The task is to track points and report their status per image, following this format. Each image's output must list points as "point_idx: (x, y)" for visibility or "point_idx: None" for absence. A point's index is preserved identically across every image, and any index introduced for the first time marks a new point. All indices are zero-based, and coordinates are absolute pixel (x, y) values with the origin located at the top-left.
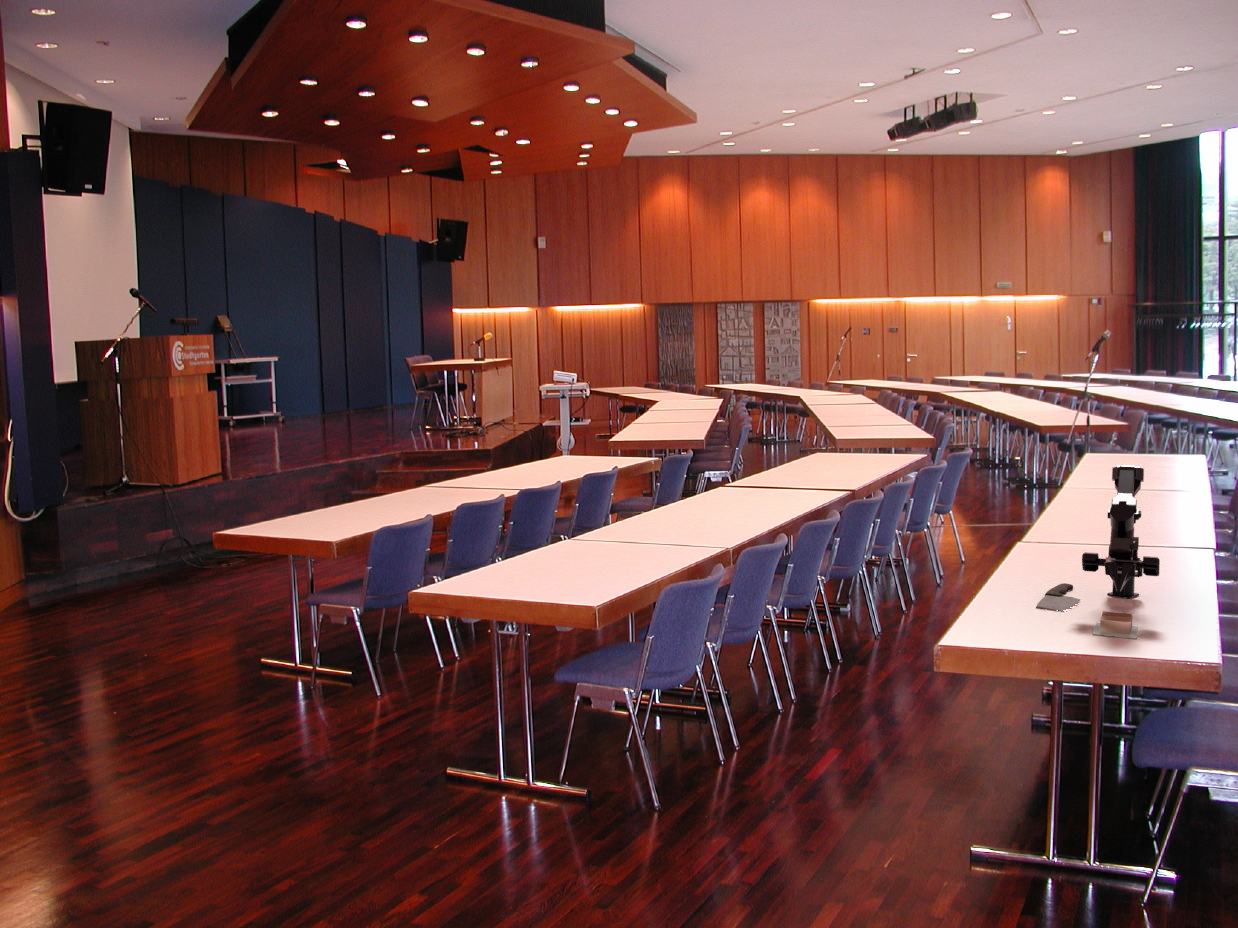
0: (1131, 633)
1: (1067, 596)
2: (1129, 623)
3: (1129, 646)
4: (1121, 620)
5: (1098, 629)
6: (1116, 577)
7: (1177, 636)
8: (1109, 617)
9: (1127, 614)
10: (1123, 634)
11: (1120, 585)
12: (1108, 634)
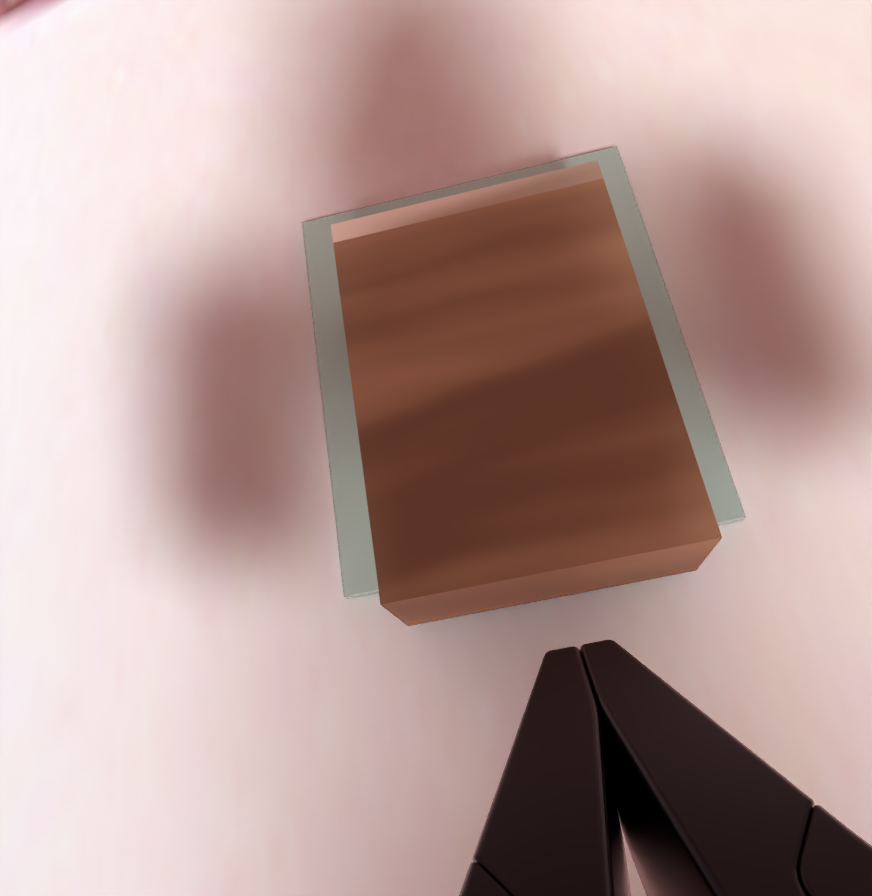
0: None
1: None
2: (343, 228)
3: (322, 60)
4: (422, 257)
5: None
6: (733, 821)
7: (31, 482)
8: (554, 297)
9: (420, 527)
10: None
11: (558, 700)
12: None
